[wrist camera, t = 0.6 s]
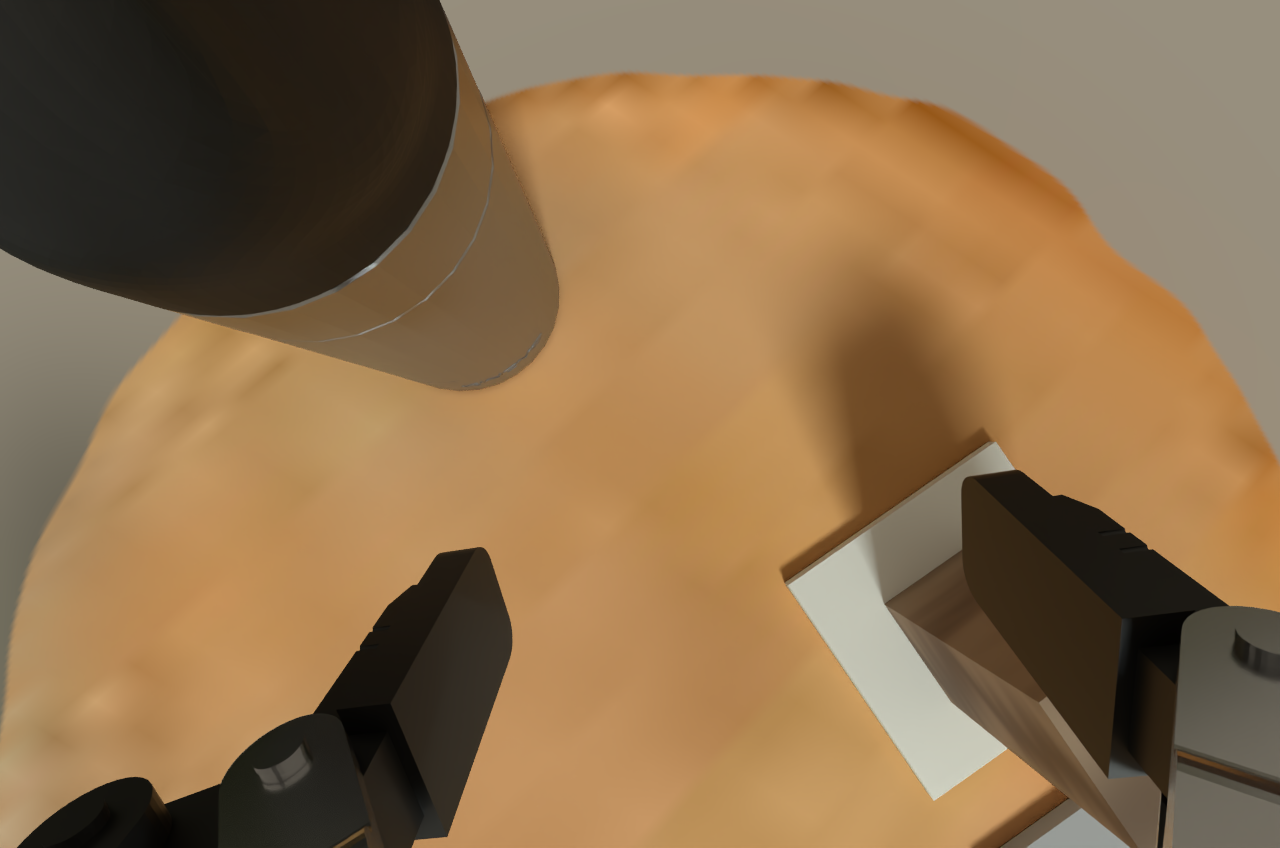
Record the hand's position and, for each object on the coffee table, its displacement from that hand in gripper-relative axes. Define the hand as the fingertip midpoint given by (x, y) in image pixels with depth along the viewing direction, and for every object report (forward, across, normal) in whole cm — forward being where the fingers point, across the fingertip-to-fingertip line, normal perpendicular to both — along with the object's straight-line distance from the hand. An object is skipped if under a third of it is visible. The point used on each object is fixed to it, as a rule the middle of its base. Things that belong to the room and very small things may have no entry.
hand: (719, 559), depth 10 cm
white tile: (+16, -10, +15) cm, 25 cm away
